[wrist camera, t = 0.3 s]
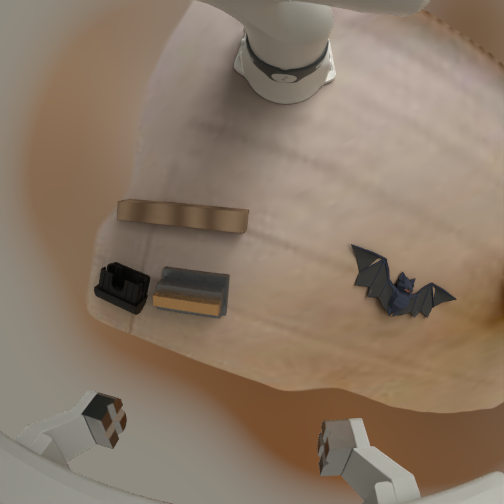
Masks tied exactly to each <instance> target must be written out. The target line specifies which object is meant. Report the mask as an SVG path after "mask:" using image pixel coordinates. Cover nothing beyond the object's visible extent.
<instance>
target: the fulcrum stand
mask: <svg viewBox="0 0 504 504" xmlns="http://www.w3.org/2000/svg"><path fill="white" fill-rule="evenodd" d="M229 276H230V275H227V274H219V273H211V272H203V271H195V270H187V269H180V268H172V267H164V268H163V279H162V280H161V281H160V282H158V283H157V292H156V293H155V294H154V295H153V306H157V309H162V310H168V311H173V312H180V313H186V314H192V315H199V316H205V317H212V318H219V319H220V316H221V315H225V316H226V313H227V303H228V289H229Z"/></svg>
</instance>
